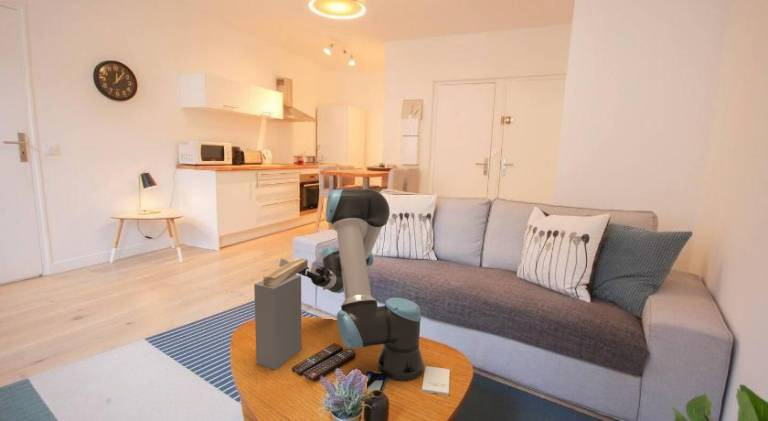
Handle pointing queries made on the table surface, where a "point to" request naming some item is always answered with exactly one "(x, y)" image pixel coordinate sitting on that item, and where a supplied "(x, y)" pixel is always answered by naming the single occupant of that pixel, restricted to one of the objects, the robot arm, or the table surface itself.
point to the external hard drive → (436, 380)
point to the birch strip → (285, 272)
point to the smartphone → (376, 380)
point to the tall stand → (278, 322)
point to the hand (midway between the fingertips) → (294, 264)
